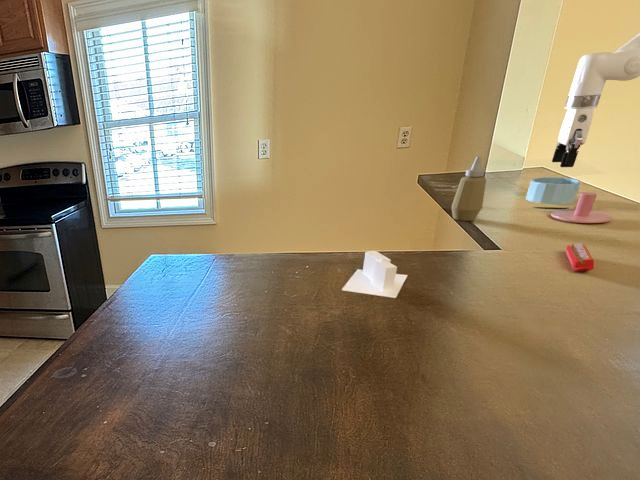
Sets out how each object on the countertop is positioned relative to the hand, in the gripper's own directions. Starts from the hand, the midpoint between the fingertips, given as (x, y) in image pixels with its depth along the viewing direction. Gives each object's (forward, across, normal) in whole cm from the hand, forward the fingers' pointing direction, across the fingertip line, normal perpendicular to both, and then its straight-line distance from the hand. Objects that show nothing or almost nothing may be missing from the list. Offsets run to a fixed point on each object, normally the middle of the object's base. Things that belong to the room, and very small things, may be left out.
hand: (562, 164), depth 149 cm
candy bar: (+12, -61, +7) cm, 63 cm away
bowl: (+12, 0, 0) cm, 12 cm away
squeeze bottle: (+12, -22, +26) cm, 36 cm away
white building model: (+12, -83, +50) cm, 98 cm away
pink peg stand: (+12, -18, -4) cm, 22 cm away
